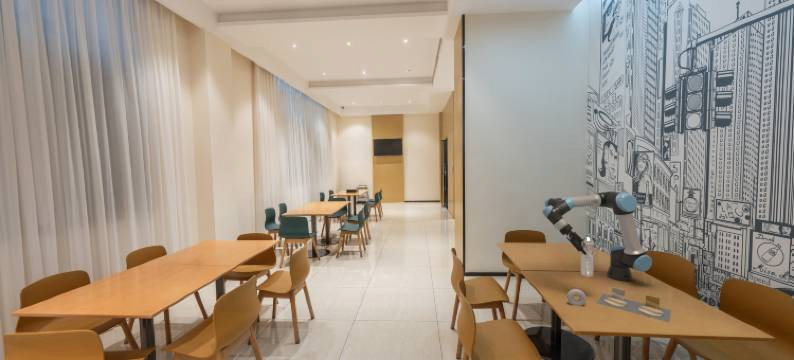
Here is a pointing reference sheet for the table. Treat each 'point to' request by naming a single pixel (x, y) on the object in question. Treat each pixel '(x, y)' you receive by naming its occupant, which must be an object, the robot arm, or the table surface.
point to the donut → (572, 293)
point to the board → (635, 308)
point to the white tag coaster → (619, 295)
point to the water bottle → (586, 264)
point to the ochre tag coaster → (651, 302)
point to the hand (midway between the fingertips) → (592, 257)
